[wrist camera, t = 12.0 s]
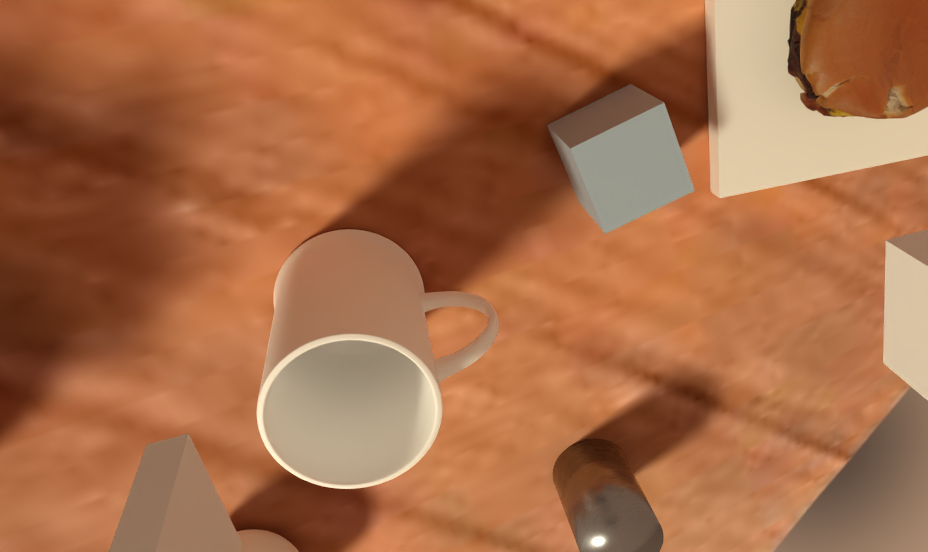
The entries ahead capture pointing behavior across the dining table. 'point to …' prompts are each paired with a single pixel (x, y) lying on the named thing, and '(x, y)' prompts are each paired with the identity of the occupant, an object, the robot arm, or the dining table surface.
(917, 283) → the robot arm
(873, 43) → the burger
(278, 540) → the teacup
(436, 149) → the dining table surface
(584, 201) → the slate block
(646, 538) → the grey tin
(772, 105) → the board
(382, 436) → the mug
